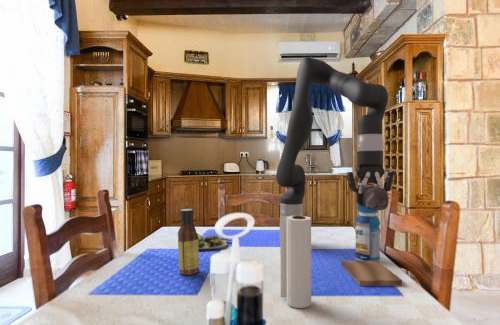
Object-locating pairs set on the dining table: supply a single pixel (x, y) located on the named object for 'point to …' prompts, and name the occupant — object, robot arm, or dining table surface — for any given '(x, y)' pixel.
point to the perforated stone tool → (375, 198)
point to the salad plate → (211, 242)
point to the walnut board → (371, 273)
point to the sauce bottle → (188, 244)
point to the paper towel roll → (296, 260)
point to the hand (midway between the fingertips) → (370, 205)
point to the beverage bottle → (367, 235)
